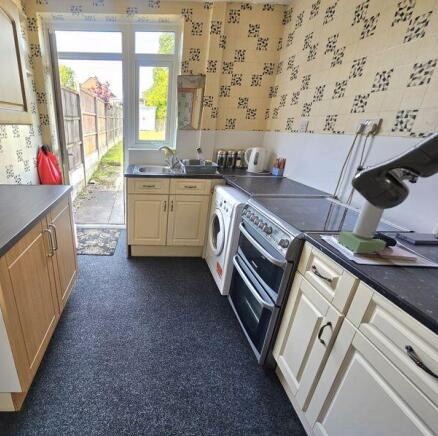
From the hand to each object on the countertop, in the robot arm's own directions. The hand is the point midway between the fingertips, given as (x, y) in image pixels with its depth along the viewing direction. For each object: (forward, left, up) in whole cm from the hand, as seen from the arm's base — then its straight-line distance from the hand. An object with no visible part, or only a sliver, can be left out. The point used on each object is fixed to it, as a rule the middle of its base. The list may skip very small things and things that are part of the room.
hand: (386, 171), depth 79 cm
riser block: (-8, -8, -32) cm, 34 cm away
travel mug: (-8, -8, -27) cm, 29 cm away
